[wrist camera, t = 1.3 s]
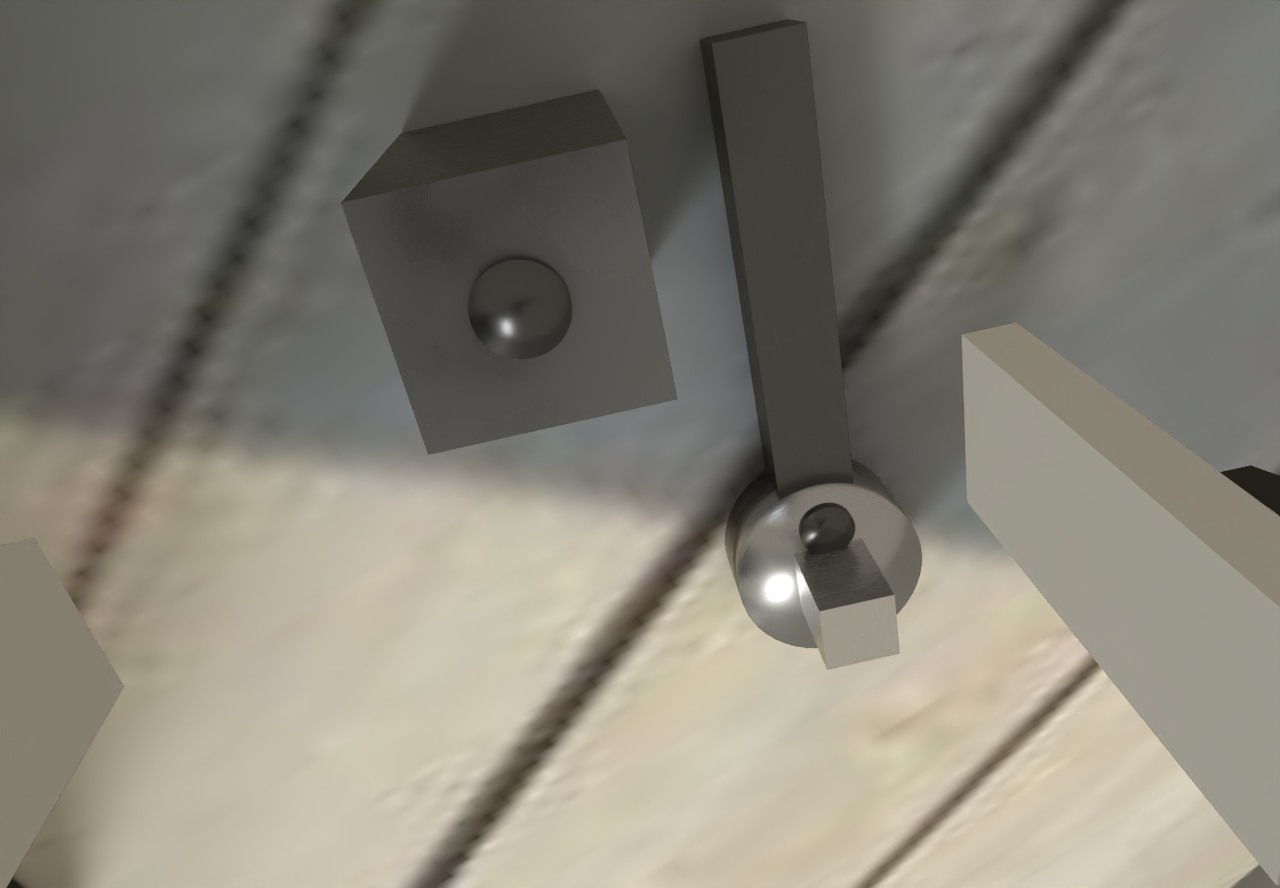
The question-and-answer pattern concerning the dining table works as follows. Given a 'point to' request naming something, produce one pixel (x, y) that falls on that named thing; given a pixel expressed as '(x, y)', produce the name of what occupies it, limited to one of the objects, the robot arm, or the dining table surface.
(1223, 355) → the dining table surface
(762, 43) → the ratchet
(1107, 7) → the dining table surface
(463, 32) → the dining table surface
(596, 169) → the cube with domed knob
